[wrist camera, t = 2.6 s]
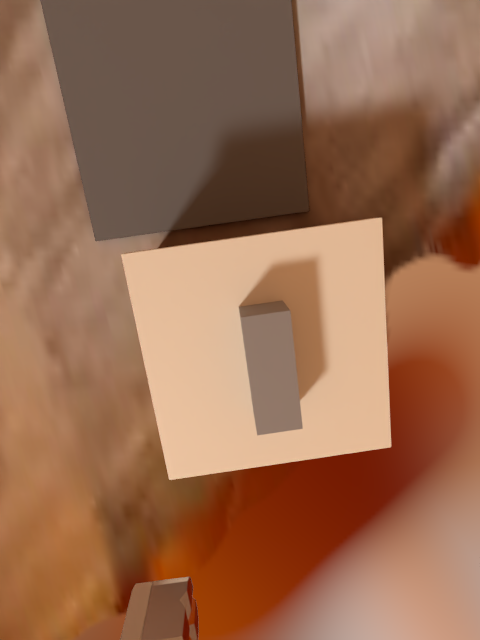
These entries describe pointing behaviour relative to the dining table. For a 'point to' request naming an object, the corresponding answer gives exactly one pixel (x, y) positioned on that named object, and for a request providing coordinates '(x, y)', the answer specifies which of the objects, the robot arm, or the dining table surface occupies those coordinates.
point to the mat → (180, 110)
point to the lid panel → (215, 351)
